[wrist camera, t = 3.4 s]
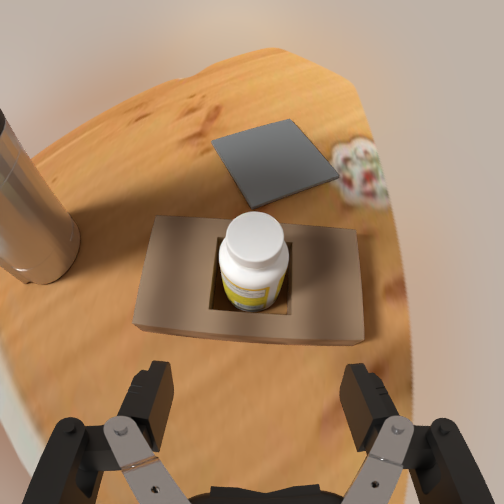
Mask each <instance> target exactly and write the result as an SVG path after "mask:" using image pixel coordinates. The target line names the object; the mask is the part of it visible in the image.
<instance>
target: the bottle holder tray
mask: <svg viewBox="0 0 504 504" xmlns="http://www.w3.org/2000/svg"><path fill="white" fill-rule="evenodd" d="M232 221H233V220H230V219H215V218H198V217H180V216H161V215H156V217H155V221H154V225H153V228H152V232H151V236H150V240H149V245H148V249H147V253H146V257H145V262H144V266H143V271H142V275H141V280H140V285H139V290H138V295H137V300H136V305H135V310H134V316H133V321H132V323H133V324H134V325H135V326H137V327H138V328H139V329H141V330H142V331H146V332H153V333H161V334H168V335H176V336H185V337H193V338H203V339H213V340H224V341H236V342H249V343H265V344H284V345H315V346H353V345H355V344H357V343H359V342H361V341H363V340H364V316H363V299H362V285H361V273H360V262H359V252H358V243H357V235H356V230H353V229H342V228H331V227H320V226H309V225H297V224H285V223H279V224H280V225H281V227H282V229H283V233H284V241H285V243H286V245H287V248H288V252H289V261H288V294H287V315H277V314H261V313H246V312H233V311H221V310H213V301H214V292H215V283H216V275H217V267H218V259H219V250H220V246H221V244H222V241H223V240H224V238H225V237H226V232H227V229H228V226H229V224H230V223H231V222H232Z"/></svg>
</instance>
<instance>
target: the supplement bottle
mask: <svg viewBox="0 0 504 504" xmlns="http://www.w3.org/2000/svg"><path fill="white" fill-rule="evenodd" d="M288 261H289V252H288V248H287V245H286V243H285V241H284V233H283V229H282V227H281V225H280V224H279V222H278V221H277V220H276V219H275V218H273V217H272V216H270V215H268V214H266V213H262V212H247V213H243V214H241V215H239V216H237V217H236V218H235V219H234V220H233V221H232V222H231V223H230V224H229V226H228V229H227V232H226V237H225V238H224V240H223V241H222V244H221V246H220V250H219V264H220V269H221V275H222V281H223V286H224V290H225V294H226V296H227V298H228V300H229V301H230V302H231V303H232V304H233V305H234V306H235V307H237V308H238V309H240V310H243V311H247V312H258V311H262V310H264V309H266V308H268V307H269V306H271V305H272V304H273V303H274V302H275V300H276V299H277V297H278V295H279V292H280V289H281V286H282V283H283V280H284V276H285V273H286V270H287V266H288Z"/></svg>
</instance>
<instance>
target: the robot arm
mask: <svg viewBox="0 0 504 504" xmlns="http://www.w3.org/2000/svg"><path fill="white" fill-rule="evenodd" d="M79 245H80V232H79V229H78V226H77V225H76V223H75V222H74V220H73V219H72V217H71V216H70V215H69V213H68V212H67V211H66V210H65V208H64V207H63V206H62V204H61V203H60V201H59V200H58V199H57V197H56V196H55V195H54V193H53V192H52V190H51V189H50V187H49V186H48V185H47V183H46V182H45V180H44V179H43V177H42V176H41V174H40V173H39V171H38V170H37V168H36V167H35V165H34V164H33V162H32V161H31V159H30V158H29V156H28V155H27V153H26V151H25V150H24V148H23V147H22V145H21V143H20V142H19V140H18V139H17V137H16V136H15V134H14V132H13V131H12V128H11V127H10V125H9V123H8V121H7V120H6V118H5V116H4V114H3V112H2V111H1V109H0V266H1V267H2V268H4V269H5V270H6V271H8V272H9V273H10V274H12V275H13V276H14V277H16V278H17V279H18V280H20V281H21V282H23V283H24V284H26V283H28V282H34V283H36V284H47V283H51V282H53V281H55V280H57V279H58V278H60V277H61V276H62V275H63V274H64V273H65V272H66V271H67V270H68V269H69V268H70V266H71V265H72V263H73V262H74V260H75V258H76V256H77V253H78V250H79ZM173 396H174V385H173V379H172V373H171V366H170V363H169V362H164V361H152V363H151V366H150V368H149V370H148V371H146V370H141V371H140V372H139V373H138V374H137V375H135V376H134V378H133V380H132V383H131V386H130V387H129V389H128V393H127V394H126V396H125V399H124V401H123V403H122V405H121V408H120V410H119V412H118V415H117V416H116V417H113V418H111V419H109V420H108V421H107V422H106V423H105V425H100V426H84V424H83V422H82V421H81V420H79V419H77V418H73V417H68V418H64V419H62V420H60V421H59V422H58V423H57V424H56V426H55V428H54V430H53V432H52V434H51V436H50V438H49V441H48V443H47V445H46V447H45V449H44V452H43V454H42V456H41V458H40V460H39V463H38V465H37V467H36V470H35V472H34V474H33V477H32V479H31V482H30V484H29V487H28V489H27V492H26V494H25V497H24V500H23V502H22V504H95V502H96V498H97V495H98V491H99V487H100V483H101V480H102V476H103V472H104V471H116V470H121V471H122V473H123V475H124V477H125V478H126V480H127V482H128V484H129V486H130V488H131V490H132V491H133V493H134V495H135V497H136V498H137V500H138V502H139V503H140V504H388V502H389V500H390V497H391V495H392V493H393V491H394V489H395V486H396V484H397V482H398V479H399V477H400V474H401V472H402V469H409V472H410V475H411V478H412V481H413V484H414V487H415V490H416V493H417V496H418V500H419V503H420V504H495V503H494V500H493V498H492V496H491V493H490V491H489V489H488V487H487V485H486V483H485V480H484V478H483V476H482V474H481V472H480V470H479V468H478V466H477V464H476V462H475V460H474V458H473V456H472V454H471V452H470V450H469V448H468V446H467V444H466V442H465V440H464V438H463V436H462V434H461V433H460V431H459V429H458V427H457V425H456V424H455V423H454V422H453V421H452V420H449V419H446V418H439V419H436V420H435V421H433V423H432V425H431V426H416V425H413V424H412V422H411V421H410V420H409V419H407V418H405V417H403V416H400V415H399V413H398V411H397V409H396V408H395V406H394V404H393V402H392V400H391V398H390V396H389V394H388V392H387V390H386V388H385V386H384V384H383V382H382V380H381V379H380V378H379V377H378V376H377V375H375V374H374V373H368V371H367V369H366V367H365V365H364V364H363V363H359V364H348V365H347V366H346V368H345V372H344V375H343V379H342V383H341V386H340V401H341V404H342V407H343V410H344V413H345V416H346V419H347V422H348V425H349V428H350V431H351V434H352V437H353V440H354V443H355V446H356V449H357V452H361V451H366V453H367V456H366V458H365V460H364V462H363V464H362V466H361V467H360V469H359V471H358V473H357V475H356V476H355V478H354V480H353V482H352V483H351V485H350V487H349V488H348V490H347V492H346V493H345V495H344V496H343V497H342V496H340V495H337V494H335V493H331V492H327V491H321V490H320V487H319V484H315V485H305V486H293V487H289V488H286V489H282V490H278V491H274V492H270V493H261V492H256V491H251V490H246V489H242V488H234V487H214V486H211V490H210V493H204V494H200V495H197V496H194V497H191V498H189V499H187V498H186V496H185V495H184V494H183V492H182V491H181V490H180V488H179V487H178V486H177V484H176V483H175V481H174V480H173V479H172V477H171V476H170V474H169V473H168V471H167V470H166V468H165V467H164V465H163V464H162V462H161V461H160V459H159V458H158V457H156V456H155V455H154V453H153V452H152V451H154V452H159V451H160V447H161V443H162V439H163V435H164V431H165V427H166V424H167V420H168V416H169V412H170V408H171V405H172V401H173Z"/></svg>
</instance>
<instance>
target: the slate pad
mask: <svg viewBox="0 0 504 504" xmlns="http://www.w3.org/2000/svg"><path fill="white" fill-rule="evenodd" d="M211 142H212V145H213V147H214V148H215V150H216V151H217V153H218V155H219V156H220V158H221V160H222V161H223V163H224V164H225V166H226V168H227V169H228V171H229V173H230V174H231V176H232V178H233V179H234V181H235V182H236V184H237V186H238V187H239V189H240V191H241V192H242V194H243V196H244V197H245V199H246V201H247V202H248V204H249V206H250V207H251V209H255V208H258V207H260V206H263V205H266V204H268V203H271V202H274V201H276V200H279V199H282V198H284V197H287V196H290V195H292V194H295V193H298V192H300V191H303V190H306V189H309V188H312V187H314V186H317V185H320V184H323V183H325V182H328V181H331V180H334V179H337V178H338V177H339V175H338V173H337V172H336V171H335V170H334V169H333V167H332V166H331V165H330V164H329V163H328V161H327V160H326V159H325V158H324V157H323V155H322V154H321V153H320V152H319V151H318V150H317V148H316V147H315V146H314V145H313V144H312V143H311V142H310V140H309V139H308V138H307V137H306V136H305V135H304V134H303V133H302V132H301V130H300V129H299V128H298V127H297V126H296V125H295V124H294V123H293V122H292V121H291V120H290V119H287V120H283V121H279V122H275V123H271V124H267V125H264V126H260V127H256V128H253V129H249V130H245V131H242V132H239V133H235V134H232V135H228V136H225V137H222V138H219V139H216V140H212V141H211Z"/></svg>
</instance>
